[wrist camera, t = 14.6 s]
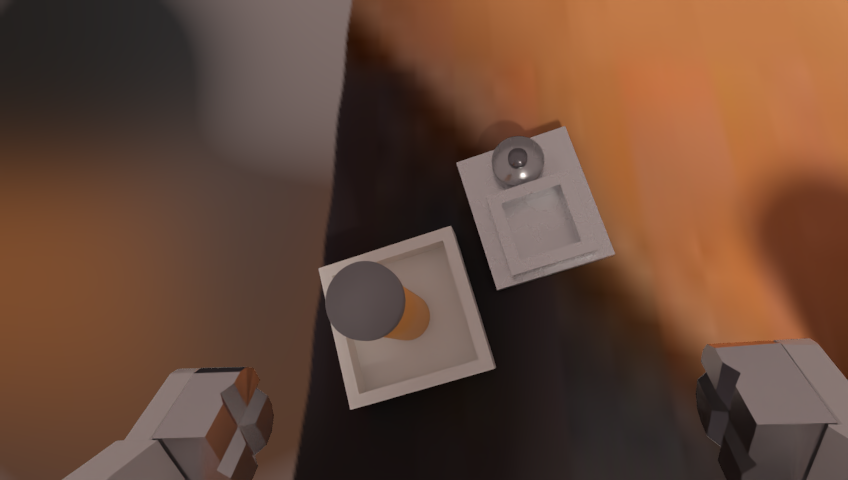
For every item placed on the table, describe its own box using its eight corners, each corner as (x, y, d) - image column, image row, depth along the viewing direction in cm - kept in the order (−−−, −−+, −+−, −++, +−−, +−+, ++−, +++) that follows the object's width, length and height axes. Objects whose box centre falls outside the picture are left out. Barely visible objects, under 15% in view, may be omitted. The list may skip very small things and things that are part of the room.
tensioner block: (613, 256, 41) (620, 248, 38) (497, 291, 42) (495, 286, 39) (563, 130, 44) (567, 113, 41) (457, 166, 46) (453, 152, 42)
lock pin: (441, 335, 42) (411, 327, 29) (387, 352, 42) (335, 350, 29) (425, 281, 43) (390, 250, 30) (373, 298, 43) (317, 274, 31)
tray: (496, 367, 41) (494, 368, 38) (361, 405, 42) (350, 409, 40) (455, 233, 44) (450, 225, 41) (331, 273, 46) (318, 268, 43)
